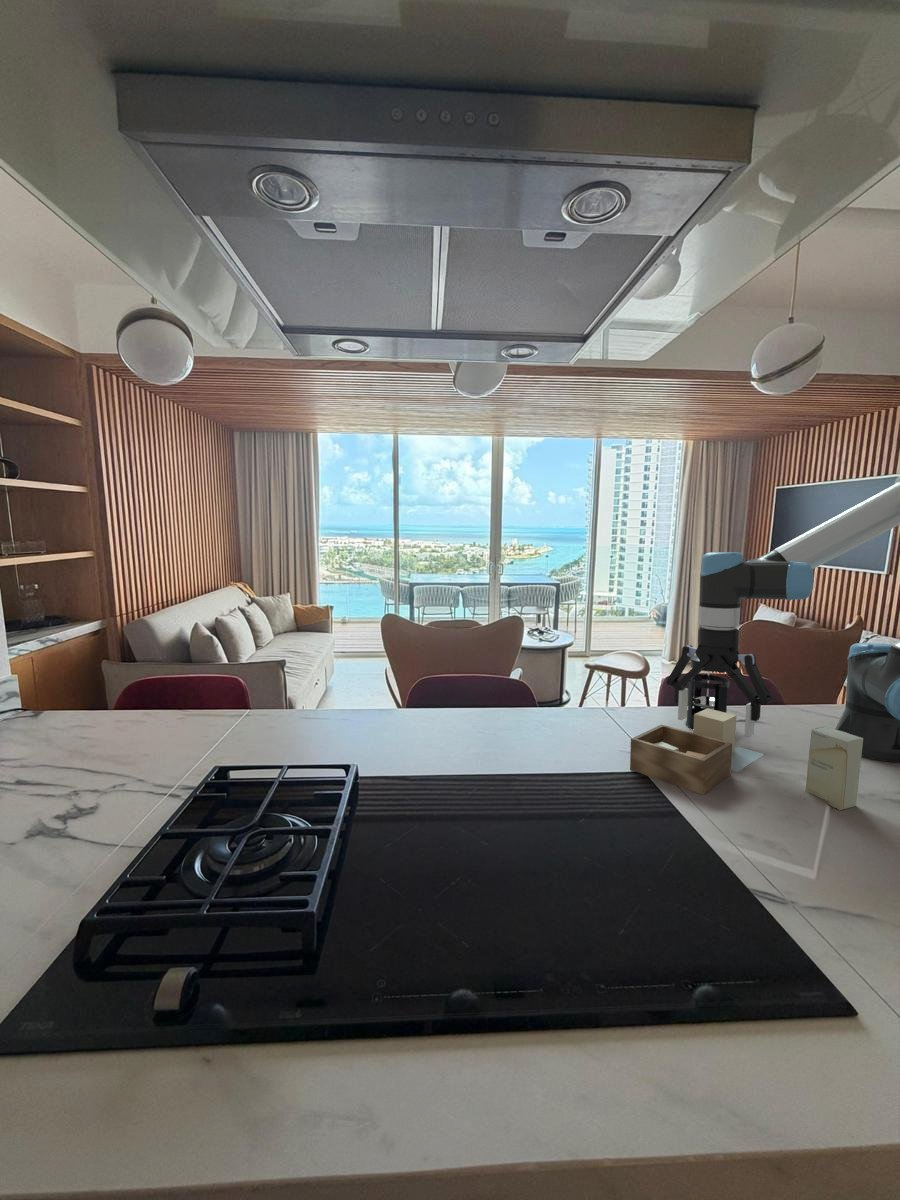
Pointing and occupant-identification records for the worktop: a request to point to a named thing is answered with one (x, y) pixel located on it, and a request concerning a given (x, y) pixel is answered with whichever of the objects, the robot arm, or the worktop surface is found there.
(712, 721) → the lid
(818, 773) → the skincare box
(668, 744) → the cube cream
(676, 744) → the box
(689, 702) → the french press
